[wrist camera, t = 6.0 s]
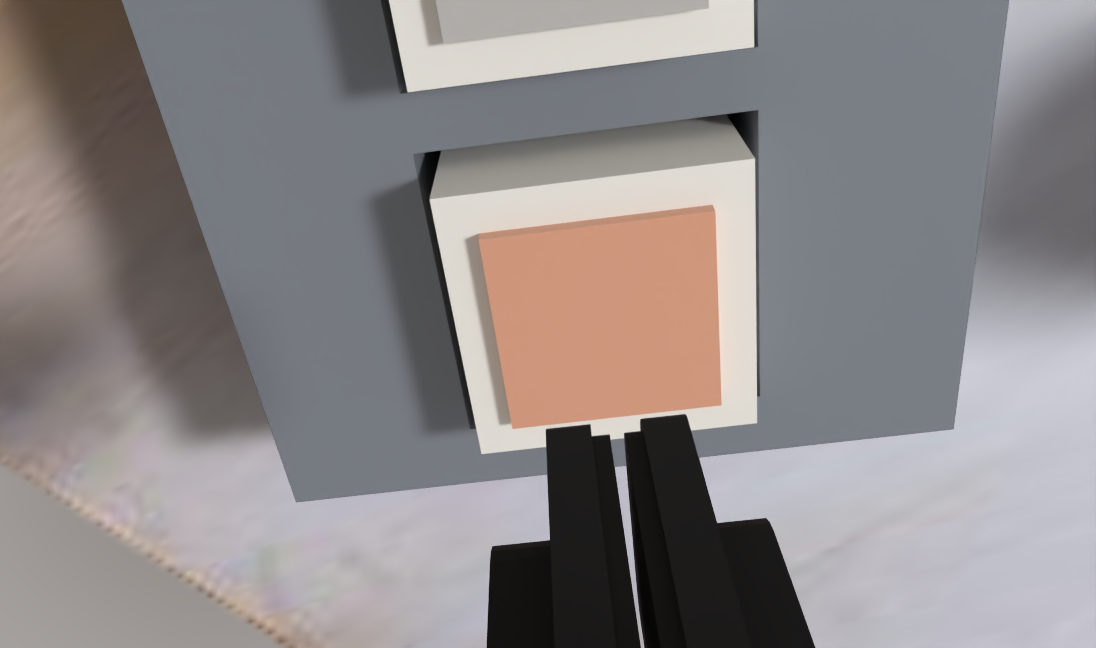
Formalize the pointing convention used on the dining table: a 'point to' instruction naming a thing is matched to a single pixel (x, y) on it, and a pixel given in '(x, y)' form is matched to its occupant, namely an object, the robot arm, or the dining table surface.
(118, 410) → the dining table surface
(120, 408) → the dining table surface
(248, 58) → the keypad
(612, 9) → the middle key
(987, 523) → the dining table surface
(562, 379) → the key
